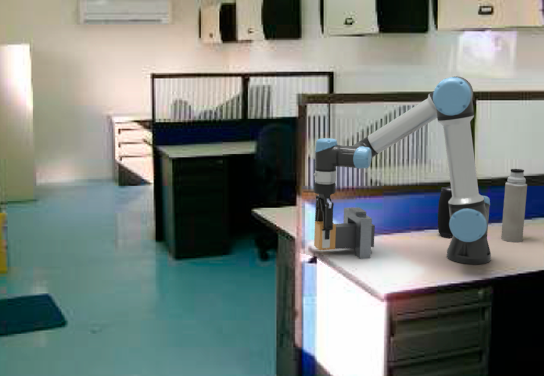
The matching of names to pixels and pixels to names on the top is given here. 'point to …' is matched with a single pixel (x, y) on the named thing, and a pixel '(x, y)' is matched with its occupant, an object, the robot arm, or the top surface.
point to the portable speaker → (444, 212)
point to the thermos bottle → (514, 207)
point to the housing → (360, 230)
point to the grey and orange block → (339, 236)
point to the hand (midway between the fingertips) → (323, 245)
